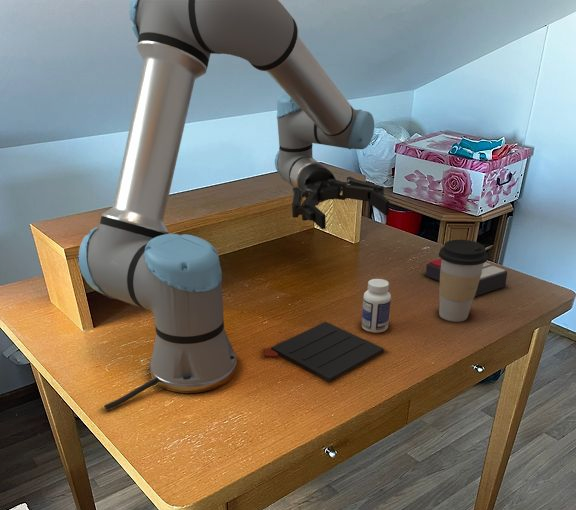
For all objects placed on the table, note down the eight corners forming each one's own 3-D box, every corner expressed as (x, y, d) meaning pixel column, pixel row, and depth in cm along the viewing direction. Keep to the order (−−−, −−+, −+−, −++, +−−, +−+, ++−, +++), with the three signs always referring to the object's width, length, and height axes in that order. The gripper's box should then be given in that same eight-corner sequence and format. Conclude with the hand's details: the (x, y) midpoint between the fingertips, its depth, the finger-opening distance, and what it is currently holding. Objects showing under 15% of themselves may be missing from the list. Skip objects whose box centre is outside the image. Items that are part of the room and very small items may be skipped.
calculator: (459, 251, 146) (509, 268, 135) (457, 268, 148) (506, 286, 137) (426, 260, 141) (475, 279, 130) (424, 277, 143) (472, 297, 132)
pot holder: (319, 387, 103) (320, 383, 102) (258, 353, 112) (258, 349, 111) (383, 352, 113) (384, 347, 112) (322, 323, 122) (322, 319, 122)
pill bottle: (388, 322, 123) (393, 278, 117) (387, 334, 118) (392, 289, 113) (362, 319, 123) (365, 276, 118) (359, 332, 119) (363, 287, 114)
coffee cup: (477, 327, 121) (491, 257, 112) (429, 323, 122) (440, 253, 114) (474, 307, 128) (487, 239, 120) (430, 303, 130) (439, 236, 122)
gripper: (363, 187, 136) (411, 220, 121) (260, 208, 130) (296, 246, 114) (364, 153, 132) (414, 184, 116) (257, 173, 125) (295, 209, 110)
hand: (356, 215), depth 115 cm, fingers open, 13 cm apart
